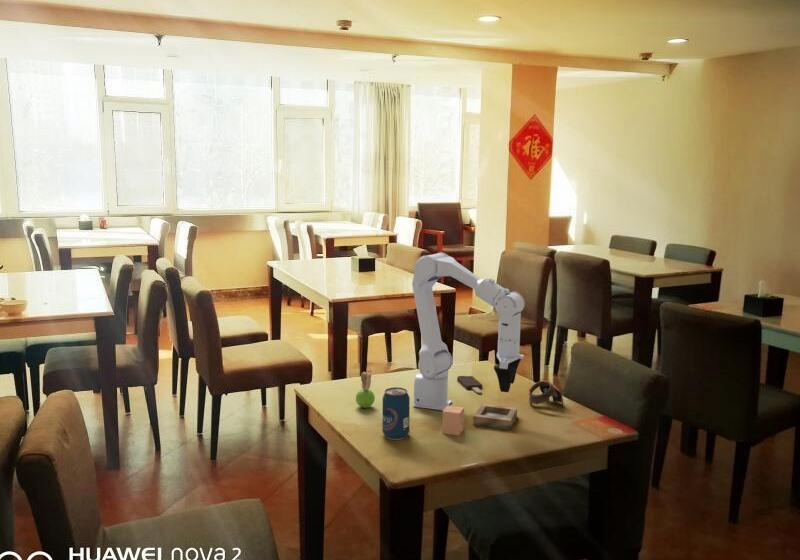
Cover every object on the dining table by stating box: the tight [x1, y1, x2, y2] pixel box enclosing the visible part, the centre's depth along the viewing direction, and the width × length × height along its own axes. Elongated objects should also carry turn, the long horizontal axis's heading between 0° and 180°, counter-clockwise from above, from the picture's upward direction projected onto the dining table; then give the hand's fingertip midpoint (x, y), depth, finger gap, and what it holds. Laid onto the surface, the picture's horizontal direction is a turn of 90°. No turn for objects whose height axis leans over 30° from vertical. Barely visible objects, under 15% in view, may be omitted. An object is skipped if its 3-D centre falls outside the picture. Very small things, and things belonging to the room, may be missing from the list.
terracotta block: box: [441, 405, 465, 436], centre depth 176 cm, size 4×4×6 cm
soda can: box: [381, 386, 411, 441], centre depth 172 cm, size 7×7×12 cm
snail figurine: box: [355, 369, 376, 409], centre depth 192 cm, size 5×6×12 cm
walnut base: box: [472, 403, 518, 431], centre depth 183 cm, size 10×10×2 cm
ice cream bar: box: [456, 375, 483, 394], centre depth 212 cm, size 5×2×15 cm
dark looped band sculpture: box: [528, 379, 565, 408], centre depth 196 cm, size 12×10×8 cm
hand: (507, 387), depth 181 cm, fingers open, 7 cm apart
